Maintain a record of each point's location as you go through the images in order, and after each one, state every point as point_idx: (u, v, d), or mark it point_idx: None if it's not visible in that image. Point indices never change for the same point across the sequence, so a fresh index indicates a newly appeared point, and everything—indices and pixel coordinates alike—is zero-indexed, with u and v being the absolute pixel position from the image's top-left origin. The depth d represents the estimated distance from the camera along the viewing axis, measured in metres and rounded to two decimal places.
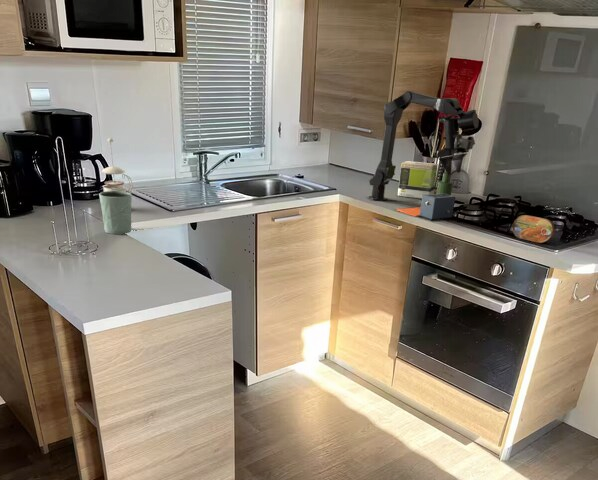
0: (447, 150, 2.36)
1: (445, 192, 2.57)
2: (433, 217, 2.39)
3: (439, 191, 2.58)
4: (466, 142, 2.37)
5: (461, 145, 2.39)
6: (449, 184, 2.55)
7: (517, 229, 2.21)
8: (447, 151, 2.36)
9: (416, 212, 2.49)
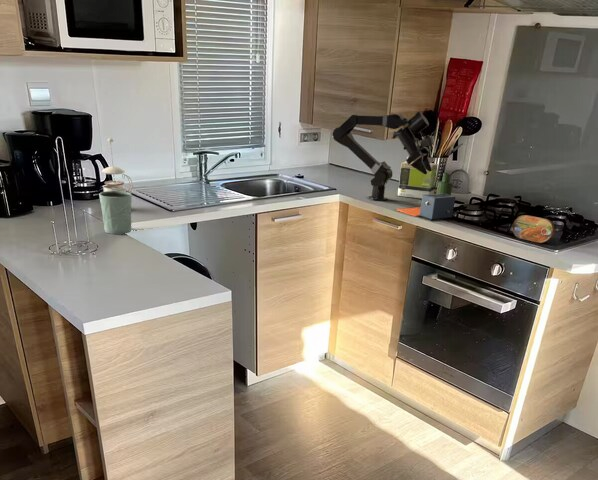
0: (415, 153, 2.48)
1: (445, 192, 2.57)
2: (433, 217, 2.39)
3: (439, 191, 2.58)
4: (426, 140, 2.51)
5: (423, 145, 2.52)
6: (449, 184, 2.55)
7: (517, 229, 2.21)
8: (415, 154, 2.48)
9: (416, 212, 2.49)
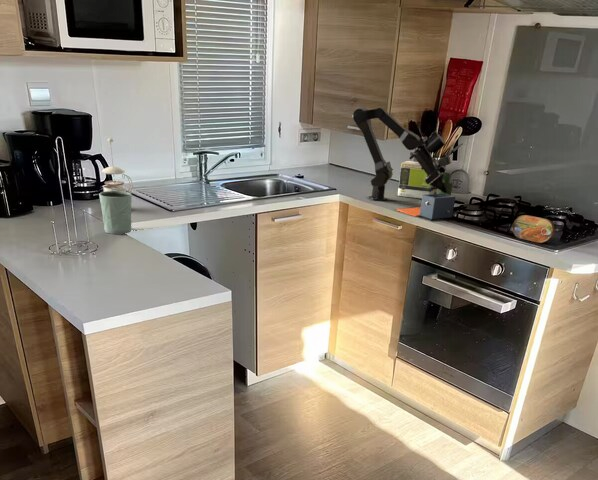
0: (434, 173, 2.49)
1: None
2: (433, 217, 2.39)
3: (439, 191, 2.58)
4: (444, 159, 2.52)
5: (441, 164, 2.53)
6: (449, 184, 2.55)
7: (517, 229, 2.21)
8: (434, 173, 2.49)
9: (416, 212, 2.49)
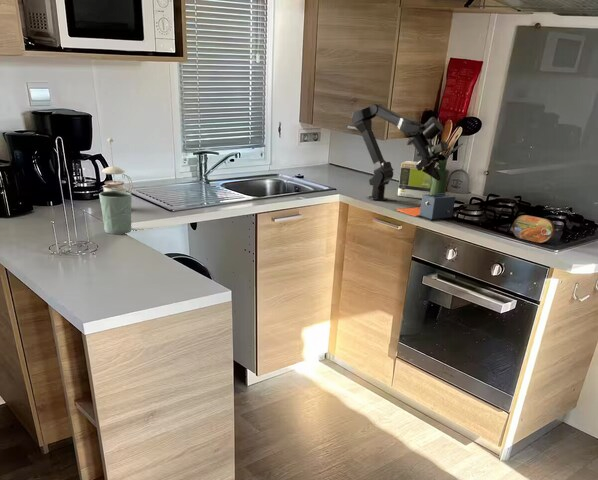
0: (424, 159, 2.42)
1: (439, 180, 2.48)
2: (433, 217, 2.39)
3: (433, 179, 2.49)
4: (439, 145, 2.43)
5: (436, 150, 2.45)
6: (443, 172, 2.46)
7: (517, 229, 2.21)
8: (424, 159, 2.42)
9: (416, 212, 2.49)
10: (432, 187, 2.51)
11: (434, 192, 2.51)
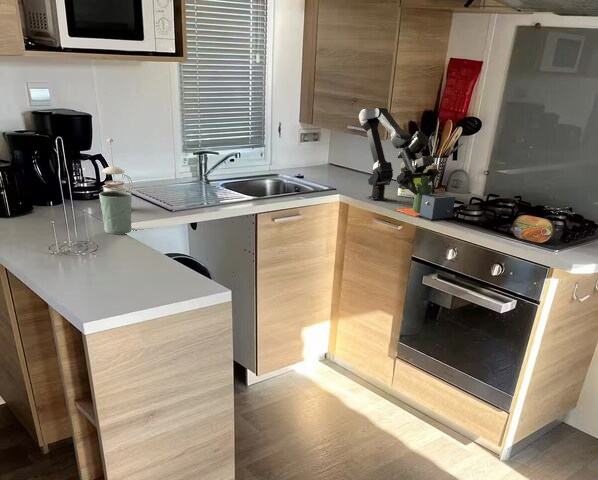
0: (402, 172, 2.41)
1: (419, 195, 2.45)
2: (433, 217, 2.39)
3: None
4: (420, 159, 2.41)
5: (418, 164, 2.42)
6: (423, 187, 2.43)
7: (517, 229, 2.21)
8: (402, 173, 2.41)
9: None
10: (414, 202, 2.49)
11: (415, 207, 2.48)
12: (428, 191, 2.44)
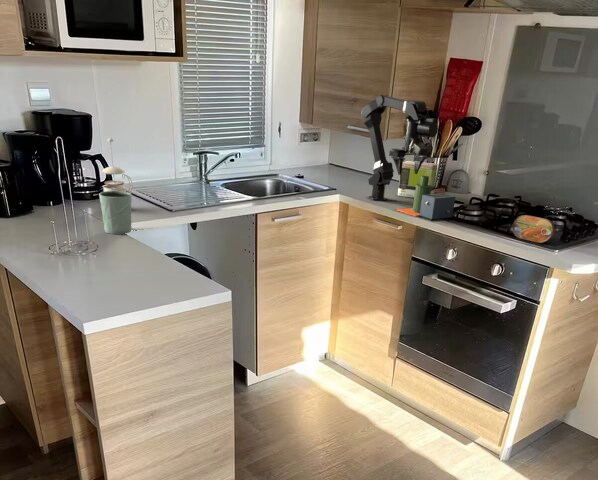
0: (396, 151, 2.44)
1: (419, 195, 2.45)
2: (433, 217, 2.39)
3: (415, 194, 2.47)
4: (418, 148, 2.43)
5: (414, 150, 2.45)
6: (423, 187, 2.43)
7: (517, 229, 2.21)
8: (396, 152, 2.45)
9: None
10: (414, 202, 2.49)
11: (415, 207, 2.48)
12: (428, 191, 2.44)
